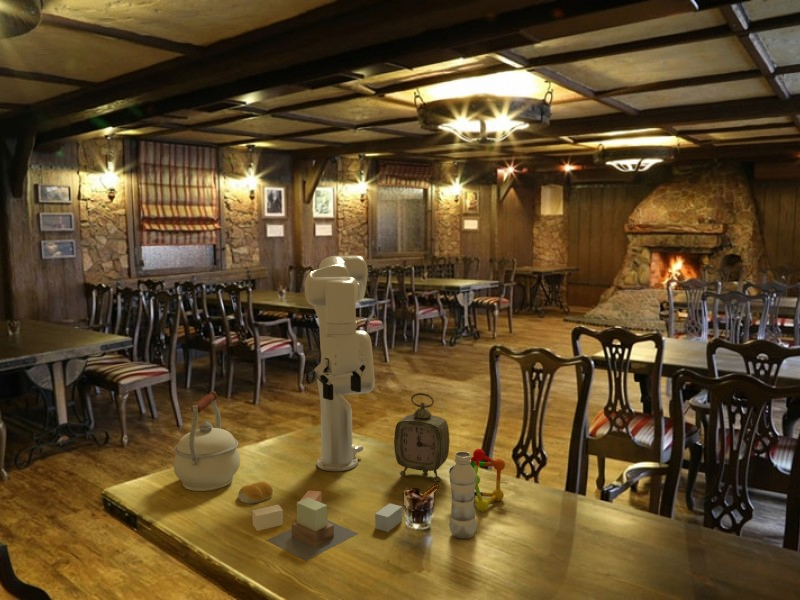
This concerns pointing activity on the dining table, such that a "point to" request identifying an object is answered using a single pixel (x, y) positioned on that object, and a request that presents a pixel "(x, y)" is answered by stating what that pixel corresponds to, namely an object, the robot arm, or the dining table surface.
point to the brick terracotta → (313, 495)
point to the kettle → (206, 452)
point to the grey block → (388, 517)
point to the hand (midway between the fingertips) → (342, 395)
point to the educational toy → (475, 463)
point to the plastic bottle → (462, 497)
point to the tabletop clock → (421, 440)
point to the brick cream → (267, 517)
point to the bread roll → (255, 492)
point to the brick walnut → (312, 534)
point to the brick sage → (312, 514)
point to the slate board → (305, 549)
